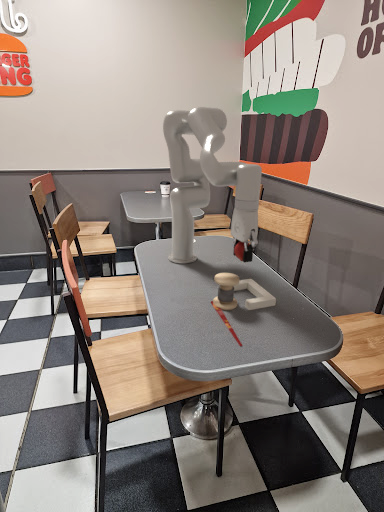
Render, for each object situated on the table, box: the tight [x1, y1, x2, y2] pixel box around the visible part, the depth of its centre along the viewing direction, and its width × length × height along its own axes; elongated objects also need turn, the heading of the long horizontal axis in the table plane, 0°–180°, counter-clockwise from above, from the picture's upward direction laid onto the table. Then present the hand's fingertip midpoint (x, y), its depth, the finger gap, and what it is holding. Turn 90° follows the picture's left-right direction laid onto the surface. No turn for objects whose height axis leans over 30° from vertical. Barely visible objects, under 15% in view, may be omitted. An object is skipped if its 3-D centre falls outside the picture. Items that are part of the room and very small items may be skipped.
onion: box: [233, 241, 250, 262], centre depth 105 cm, size 6×6×8 cm
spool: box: [212, 272, 241, 311], centre depth 103 cm, size 8×8×10 cm
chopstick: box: [210, 300, 243, 347], centre depth 95 cm, size 2×24×1 cm, turn 15°
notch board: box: [233, 278, 277, 311], centre depth 110 cm, size 16×10×2 cm, turn 20°
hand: (242, 257), depth 106 cm, fingers closed on onion, 5 cm apart
